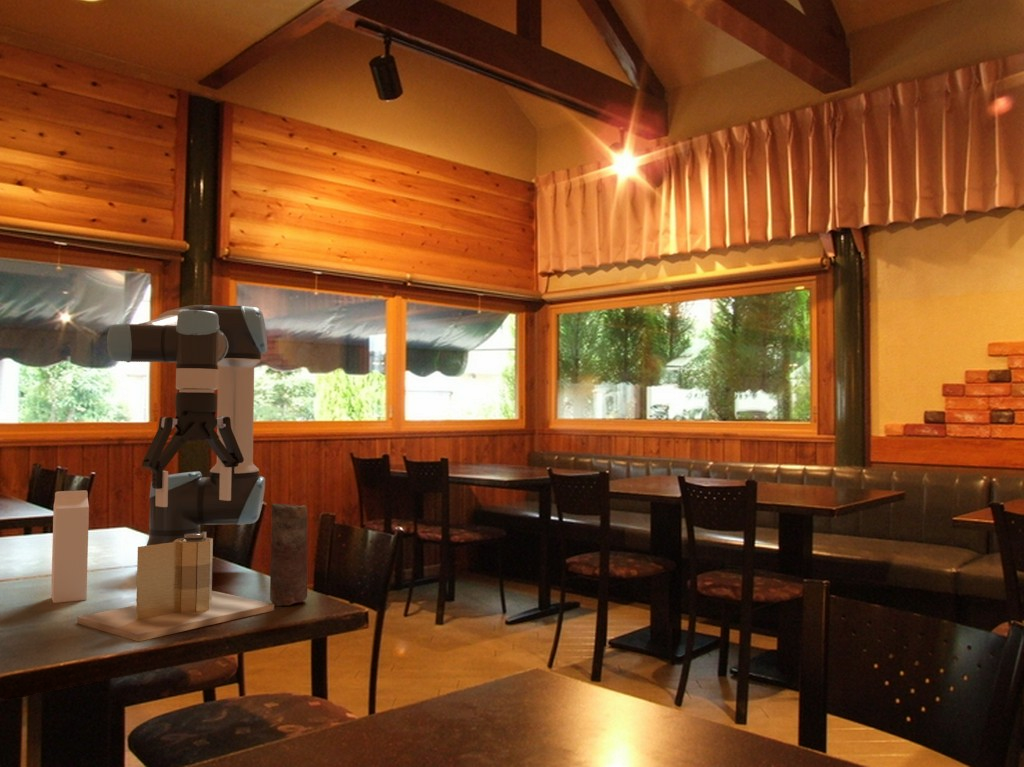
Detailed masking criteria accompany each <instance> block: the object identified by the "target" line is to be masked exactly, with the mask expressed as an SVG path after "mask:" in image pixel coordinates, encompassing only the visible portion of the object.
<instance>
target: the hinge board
mask: <svg viewBox="0 0 1024 767" xmlns="http://www.w3.org/2000/svg"><path fill="white" fill-rule="evenodd" d="M273 611H275V605H274V604H273V603H272V602H267V601H261V600H257V599H253V598H247V597H243V596H237V595H234V594H229V593H225V592H220V591H215V590H212V602H211V608H210V609H209V610H207V611H202V612H197V613H172V614H167V615H162V616H157V617H153V618H148V619H143V620H136V605H131V606H125V607H120V608H115V609H110V610H109V609H108V610H104V611H99V612H95V613H94V612H93V613H89V614H83V615H78V616H77V618H76V623H77V624H78V625H81V626H85V627H87V628H88V627H89V628H92V629H94V630H95V629H96V630H99V631H102V632H105V633H109V634H111V635H116V636H119V637H122V638H125V639H128V640H132V641H135V642H143V641H147V640H150V639H151V640H152V639H155V638H159V637H164V636H169V635H174V634H177V633H181V632H185V631H190V630H195V629H198V628H203V627H208V626H211V625H216V624H217V625H218V624H220V623H221V624H222V623H225V622H229V621H234V620H238V619H243V618H246V617H251V616H256V615H260V614H264V613H269V612H273Z"/></svg>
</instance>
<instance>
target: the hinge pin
mask: <svg viewBox="0 0 1024 767" xmlns="http://www.w3.org/2000/svg"><path fill="white" fill-rule="evenodd" d="M204 538H205V534H204V533H202V532H200V533H188V534H185V535H184V539H185V542H197V541H203V539H204Z"/></svg>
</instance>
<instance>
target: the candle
mask: <svg viewBox="0 0 1024 767" xmlns="http://www.w3.org/2000/svg"><path fill="white" fill-rule="evenodd" d="M270 509H271V514H270V516H271V519H270V520H271V521H270V522H271V524H270V526H271V527H270V532H271V533H270V534H271V535H270V571H269V572H270V573H269V574H270V575H269V576H270V577H269V578H270V579H269V581H270V582H269V589H270V590H269V601H270V603H272V604H274V607H283V606H292V605H294V604H298V603H299V604H301V603H302V602H304V601H306V600H307V598H308V583H309V582H308V506H307V505H306V504H303V505H297V504H284V503H272V504H271V507H270Z"/></svg>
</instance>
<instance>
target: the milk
mask: <svg viewBox="0 0 1024 767" xmlns="http://www.w3.org/2000/svg"><path fill="white" fill-rule="evenodd" d="M88 496H89V494H88V490H81V489H80V490H64V491H63V490H62V491H61V490H60V491H56V492H55V493H54V503H53V514H52V515H53V516H52V523H53V524H52V547H51V548H52V549H51V550H52V551H51V553H52V555H51V557H52V558H51V585H50V586H51V587H50V588H51V589H50V590H51V591H50V598H51V600H52V603H53V604H59V603H69V602H79V601H86V600H87V595H88V594H87V593H88V592H87V591H88V589H87V588H88V558H89V554H88V553H89V552H88V551H89V518H90V513H89V512H90V506H89V505H90V504H89V500H88V499H89V498H88Z"/></svg>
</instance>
